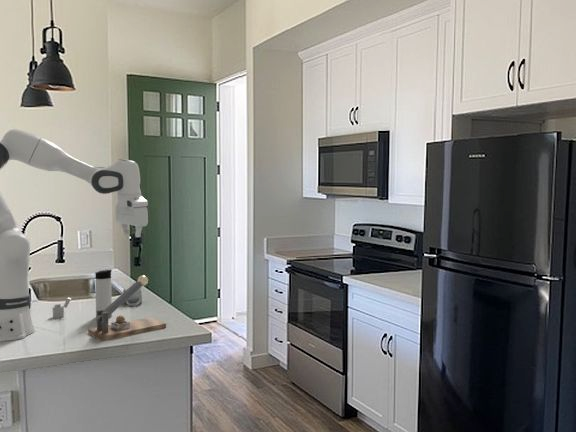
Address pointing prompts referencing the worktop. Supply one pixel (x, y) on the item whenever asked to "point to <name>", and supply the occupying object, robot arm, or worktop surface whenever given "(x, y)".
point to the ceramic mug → (134, 298)
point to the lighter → (60, 309)
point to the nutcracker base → (129, 331)
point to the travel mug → (103, 290)
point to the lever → (124, 296)
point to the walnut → (120, 319)
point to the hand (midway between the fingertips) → (132, 235)
